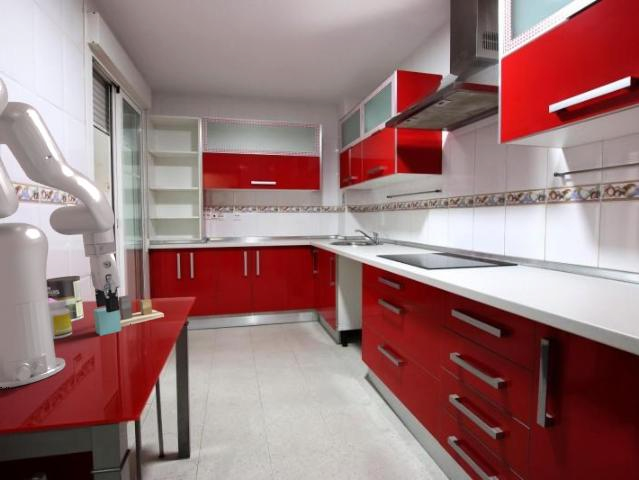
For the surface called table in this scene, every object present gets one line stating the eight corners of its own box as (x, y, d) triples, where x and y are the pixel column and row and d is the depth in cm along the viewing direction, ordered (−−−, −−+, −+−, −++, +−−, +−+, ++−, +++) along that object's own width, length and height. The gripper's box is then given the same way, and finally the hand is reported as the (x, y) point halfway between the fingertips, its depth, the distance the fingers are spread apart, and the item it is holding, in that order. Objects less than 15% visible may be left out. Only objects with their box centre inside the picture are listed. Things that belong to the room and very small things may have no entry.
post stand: (163, 316, 116) (161, 292, 115) (119, 327, 107) (116, 300, 106) (152, 312, 123) (150, 289, 122) (110, 321, 114) (107, 296, 113)
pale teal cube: (121, 330, 103) (118, 308, 102) (100, 335, 99) (98, 312, 99) (115, 327, 106) (113, 305, 106) (95, 332, 103) (93, 309, 102)
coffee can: (62, 324, 114) (57, 281, 113) (39, 324, 117) (34, 281, 116) (91, 315, 124) (87, 275, 123) (69, 315, 127) (64, 275, 126)
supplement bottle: (77, 332, 104) (73, 299, 103) (61, 339, 98) (57, 304, 98) (59, 333, 104) (56, 300, 104) (43, 339, 99) (39, 305, 98)
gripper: (124, 249, 98) (132, 310, 100) (106, 246, 110) (113, 301, 112) (93, 253, 93) (101, 317, 94) (77, 250, 105) (85, 307, 107)
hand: (108, 308), depth 103 cm, fingers open, 9 cm apart
